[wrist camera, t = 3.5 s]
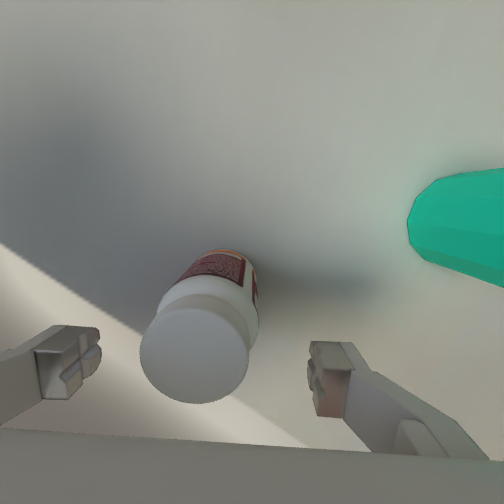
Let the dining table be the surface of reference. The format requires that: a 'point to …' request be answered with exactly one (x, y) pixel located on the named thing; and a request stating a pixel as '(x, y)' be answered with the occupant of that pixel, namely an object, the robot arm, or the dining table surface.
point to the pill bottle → (203, 330)
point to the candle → (462, 224)
